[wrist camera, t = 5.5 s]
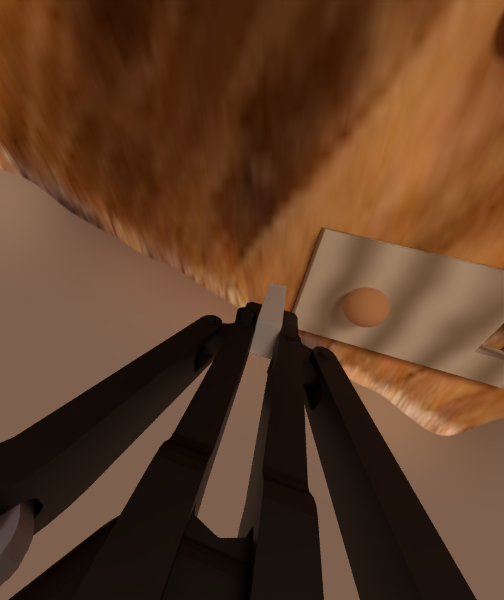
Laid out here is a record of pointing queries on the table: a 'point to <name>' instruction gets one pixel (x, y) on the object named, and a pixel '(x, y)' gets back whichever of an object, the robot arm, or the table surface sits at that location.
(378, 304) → the ball
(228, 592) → the robot arm
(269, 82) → the table surface
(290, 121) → the table surface
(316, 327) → the box with square hole
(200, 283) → the table surface
